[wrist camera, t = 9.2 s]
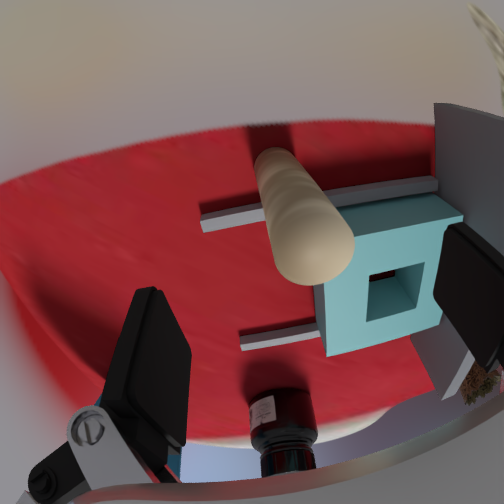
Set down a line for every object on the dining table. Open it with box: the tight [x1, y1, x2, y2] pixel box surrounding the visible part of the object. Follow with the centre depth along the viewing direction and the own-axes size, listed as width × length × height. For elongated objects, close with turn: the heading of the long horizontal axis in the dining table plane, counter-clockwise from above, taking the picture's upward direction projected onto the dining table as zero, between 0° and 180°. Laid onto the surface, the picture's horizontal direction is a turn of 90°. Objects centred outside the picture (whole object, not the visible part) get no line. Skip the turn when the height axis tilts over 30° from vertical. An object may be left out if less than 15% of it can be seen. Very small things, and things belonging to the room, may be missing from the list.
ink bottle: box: [249, 389, 318, 478], centre depth 33 cm, size 10×9×12 cm
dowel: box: [254, 147, 355, 285], centre depth 16 cm, size 3×3×12 cm
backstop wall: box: [200, 103, 504, 400], centre depth 22 cm, size 22×28×10 cm
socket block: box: [313, 192, 463, 357], centre depth 24 cm, size 12×12×5 cm
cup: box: [459, 360, 501, 406], centre depth 34 cm, size 8×7×8 cm
